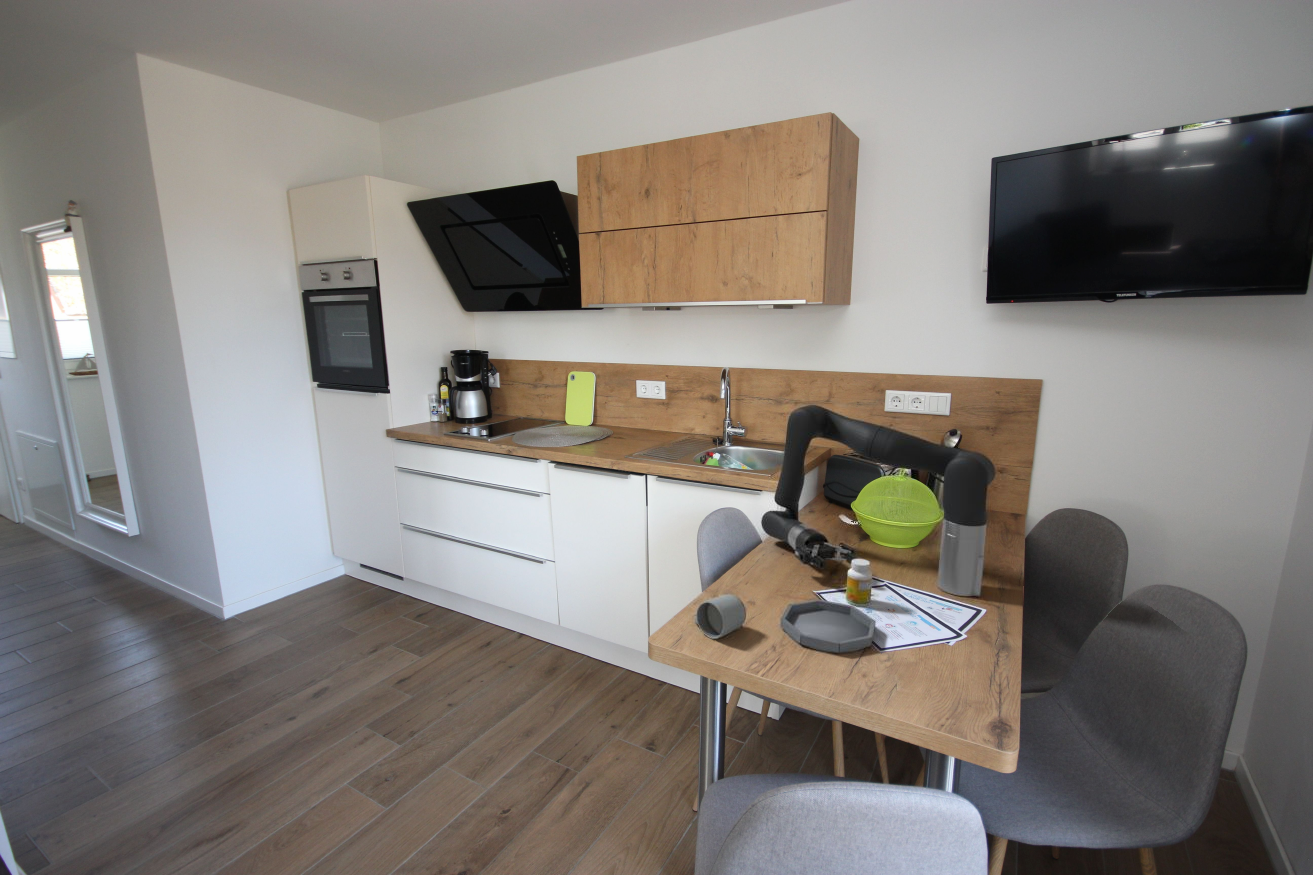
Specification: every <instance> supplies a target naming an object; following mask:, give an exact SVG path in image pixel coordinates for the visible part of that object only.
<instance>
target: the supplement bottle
mask: <svg viewBox="0 0 1313 875" xmlns="http://www.w3.org/2000/svg"><path fill="white" fill-rule="evenodd" d="M850 566H851V567H850V568H849V569H848V570H847V578H846V579H847V580H846V592H845V600H846V602H847V603H848V604H850V605H852V604H853V605H852V606H855V605H857V606H856V607H867V606H869V605H870V604H871V598H872V587H873V586H872V585H873V584H872V583H873V572H872V571H871V570H870V569H871V562H870V561H869V560H867V559H864V558H858V559H853V560H852V562H851V564H850Z"/></svg>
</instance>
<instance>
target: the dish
mask: <svg viewBox="0 0 1313 875" xmlns="http://www.w3.org/2000/svg"><path fill="white" fill-rule="evenodd" d="M876 623H877V622H876V620H875V619H873V618H872V617H871V616H868V614H866V613H865V612H863V611H861V610H860V609H858V608H857V607H855V605H852V604H850V605H849V604H845V603H840V602H835V601H828V600H824V599H820V598H819V599H811V600H805V601H800V602H793V603H789V604H788V605H787V607H786V609H785V610H784V612H783V614H782V616H781V618H780V628H781V629H782V630H784V631H785V633H786V634H787V636H789V637H790V639H792V640H794V642H796V643H798V644H799V645H802V646H804V647H806V648H809V649H813V650H817V651H821V652H825V653H826V652H827V653H836V654H845V653H853V652H857V651H861V650H863V649H865V648H868V647H871V646H872V644H873V640H874V636H875V631H876Z"/></svg>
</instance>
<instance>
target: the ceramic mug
mask: <svg viewBox="0 0 1313 875" xmlns="http://www.w3.org/2000/svg"><path fill="white" fill-rule="evenodd" d="M695 612H696V613H695V615H693V620H694V623H695V624H696V625H698V627H699V629H700V631H701V632H702V634H703V635H705V636H706V637H707V638H709V639H712V640H718V639H720V638H721V637H724V636H725V635H727V634H729V633H732V632H734V631H736V630H738V629H739V628H741V627H742V626H743V625H744V623H745V622H746V620H747V609H746V607H745V604H744V602H743V600H741V599H740V598H739V596H736V595H735V594H728V593H727V594H722V595H720V596H717V597H714V598H710V599H707V600H705V601H704V600H703V601H702V602H701V603H700V604H699V605H698V606H697V609H696V611H695Z"/></svg>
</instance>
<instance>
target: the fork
mask: <svg viewBox="0 0 1313 875" xmlns="http://www.w3.org/2000/svg"><path fill="white" fill-rule="evenodd" d="M838 517H839V518H840V519H841V520H842V521H843V522H844V523H845V522H846V523H847V524H850V525H859V524H858V522H859V521H854V523H853V522H851V521H853V520H852V519H850V518H848V517H847V516H845V514H840V515H839V516H838ZM855 522H856V523H855Z"/></svg>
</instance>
